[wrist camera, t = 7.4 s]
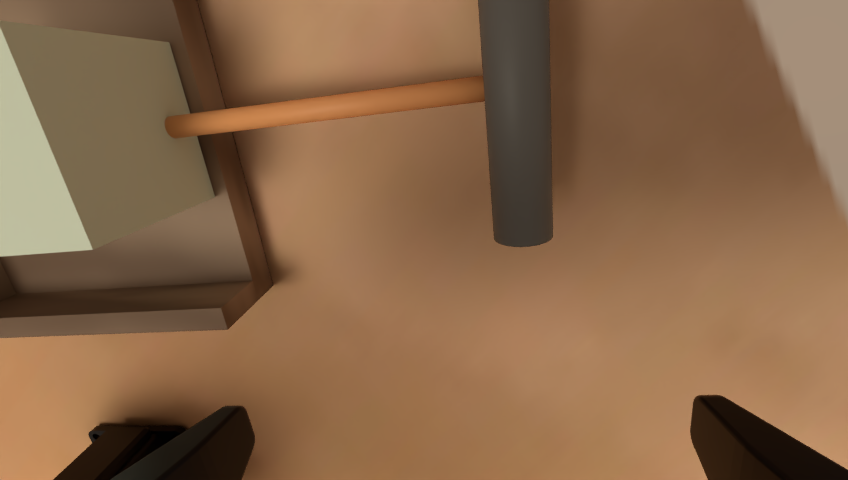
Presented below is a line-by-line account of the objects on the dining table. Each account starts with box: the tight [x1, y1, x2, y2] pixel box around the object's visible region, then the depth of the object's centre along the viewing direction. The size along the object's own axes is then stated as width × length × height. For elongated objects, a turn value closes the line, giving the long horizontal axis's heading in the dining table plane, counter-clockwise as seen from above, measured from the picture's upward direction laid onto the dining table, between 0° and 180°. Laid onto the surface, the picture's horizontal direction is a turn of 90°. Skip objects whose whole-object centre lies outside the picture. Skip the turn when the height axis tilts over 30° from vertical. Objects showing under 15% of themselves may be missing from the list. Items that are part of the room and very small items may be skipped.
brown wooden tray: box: [0, 0, 273, 338], centre depth 17 cm, size 16×14×4 cm
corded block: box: [0, 0, 553, 257], centre depth 13 cm, size 10×20×6 cm, turn 97°
